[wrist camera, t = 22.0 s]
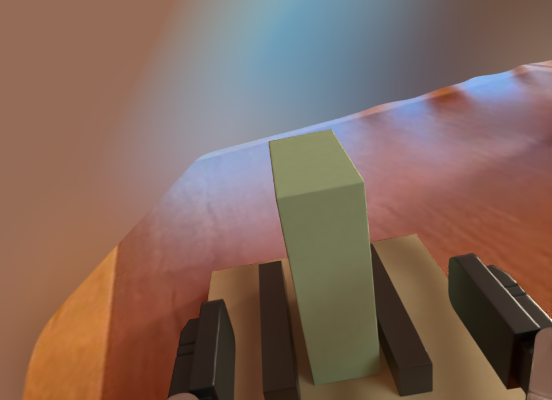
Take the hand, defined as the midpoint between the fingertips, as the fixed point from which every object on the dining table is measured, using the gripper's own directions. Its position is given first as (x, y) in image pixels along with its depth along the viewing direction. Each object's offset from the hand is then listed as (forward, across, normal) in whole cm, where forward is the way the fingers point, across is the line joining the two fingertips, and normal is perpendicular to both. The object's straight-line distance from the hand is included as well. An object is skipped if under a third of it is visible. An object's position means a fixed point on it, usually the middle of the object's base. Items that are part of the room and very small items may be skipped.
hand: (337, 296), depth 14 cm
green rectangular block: (+6, 0, +8) cm, 10 cm away
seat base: (+6, 0, +10) cm, 12 cm away
